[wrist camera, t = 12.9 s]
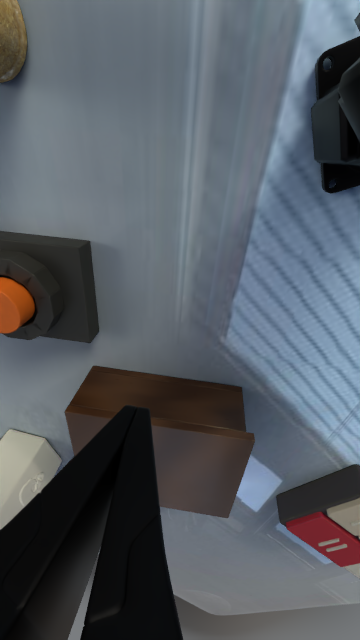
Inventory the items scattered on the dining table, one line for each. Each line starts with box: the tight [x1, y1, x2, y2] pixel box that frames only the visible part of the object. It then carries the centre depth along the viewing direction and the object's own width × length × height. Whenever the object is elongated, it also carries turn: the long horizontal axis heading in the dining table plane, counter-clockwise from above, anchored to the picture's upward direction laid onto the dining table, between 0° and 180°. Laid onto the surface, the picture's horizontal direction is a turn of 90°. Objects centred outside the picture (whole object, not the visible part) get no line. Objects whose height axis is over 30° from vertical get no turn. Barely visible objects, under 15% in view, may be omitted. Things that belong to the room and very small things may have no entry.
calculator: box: [276, 465, 360, 579], centre depth 31 cm, size 11×4×15 cm
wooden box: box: [69, 366, 246, 432], centre depth 27 cm, size 14×12×5 cm
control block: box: [0, 231, 99, 343], centre depth 21 cm, size 10×8×4 cm
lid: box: [65, 405, 255, 518], centre depth 24 cm, size 15×12×1 cm
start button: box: [0, 277, 35, 333], centre depth 19 cm, size 4×4×2 cm
